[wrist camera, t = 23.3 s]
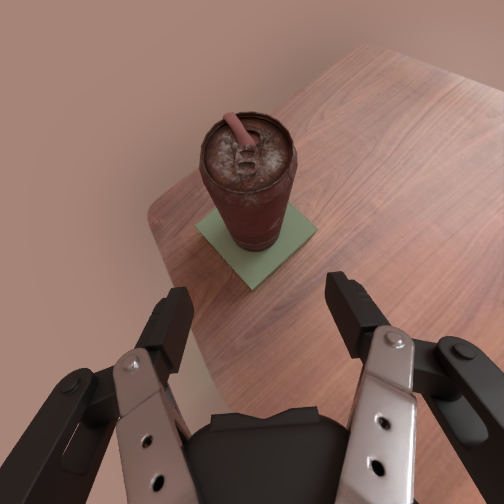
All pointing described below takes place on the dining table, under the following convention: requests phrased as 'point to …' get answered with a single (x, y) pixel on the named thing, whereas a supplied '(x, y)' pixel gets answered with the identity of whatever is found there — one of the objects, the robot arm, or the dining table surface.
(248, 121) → the can
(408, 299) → the dining table surface
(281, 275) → the dining table surface
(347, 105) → the dining table surface
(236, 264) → the plate
